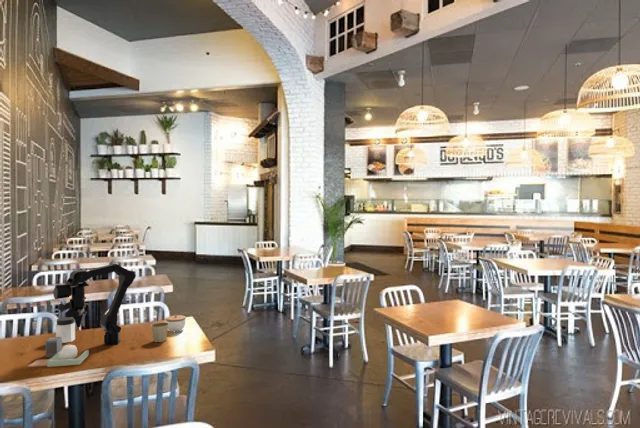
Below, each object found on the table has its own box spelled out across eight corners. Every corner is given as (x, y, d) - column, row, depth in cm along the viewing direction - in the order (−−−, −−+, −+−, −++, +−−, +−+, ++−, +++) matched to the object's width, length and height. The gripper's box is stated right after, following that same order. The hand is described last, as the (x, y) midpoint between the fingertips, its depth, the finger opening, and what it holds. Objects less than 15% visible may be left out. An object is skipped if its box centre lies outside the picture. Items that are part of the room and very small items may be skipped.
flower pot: (146, 342, 234) (146, 326, 234) (159, 337, 243) (159, 321, 243) (160, 344, 231) (160, 327, 231) (173, 339, 239) (172, 323, 239)
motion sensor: (66, 358, 211) (66, 341, 211) (81, 358, 210) (81, 342, 210) (54, 363, 203) (54, 347, 203) (70, 364, 202) (69, 347, 202)
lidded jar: (163, 330, 256) (162, 314, 256) (180, 327, 263) (180, 311, 263) (171, 334, 248) (170, 318, 248) (189, 330, 255) (188, 314, 255)
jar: (56, 344, 232) (56, 321, 232) (55, 340, 239) (55, 318, 239) (75, 341, 237) (75, 319, 237) (74, 337, 244) (74, 316, 244)
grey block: (62, 352, 219) (61, 336, 218) (57, 357, 212) (56, 340, 212) (50, 353, 218) (49, 337, 217) (44, 357, 211) (44, 341, 211)
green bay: (58, 357, 212) (58, 352, 212) (88, 355, 214) (88, 350, 214) (47, 366, 199) (47, 361, 199) (79, 364, 202) (79, 359, 202)
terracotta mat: (55, 359, 209) (55, 358, 209) (48, 365, 201) (48, 364, 201) (36, 360, 207) (36, 360, 207) (28, 366, 199) (28, 366, 199)
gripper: (67, 293, 228) (68, 323, 228) (52, 300, 210) (53, 333, 210) (90, 292, 230) (91, 322, 230) (78, 299, 212) (78, 331, 212)
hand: (78, 327), depth 221 cm, fingers closed
